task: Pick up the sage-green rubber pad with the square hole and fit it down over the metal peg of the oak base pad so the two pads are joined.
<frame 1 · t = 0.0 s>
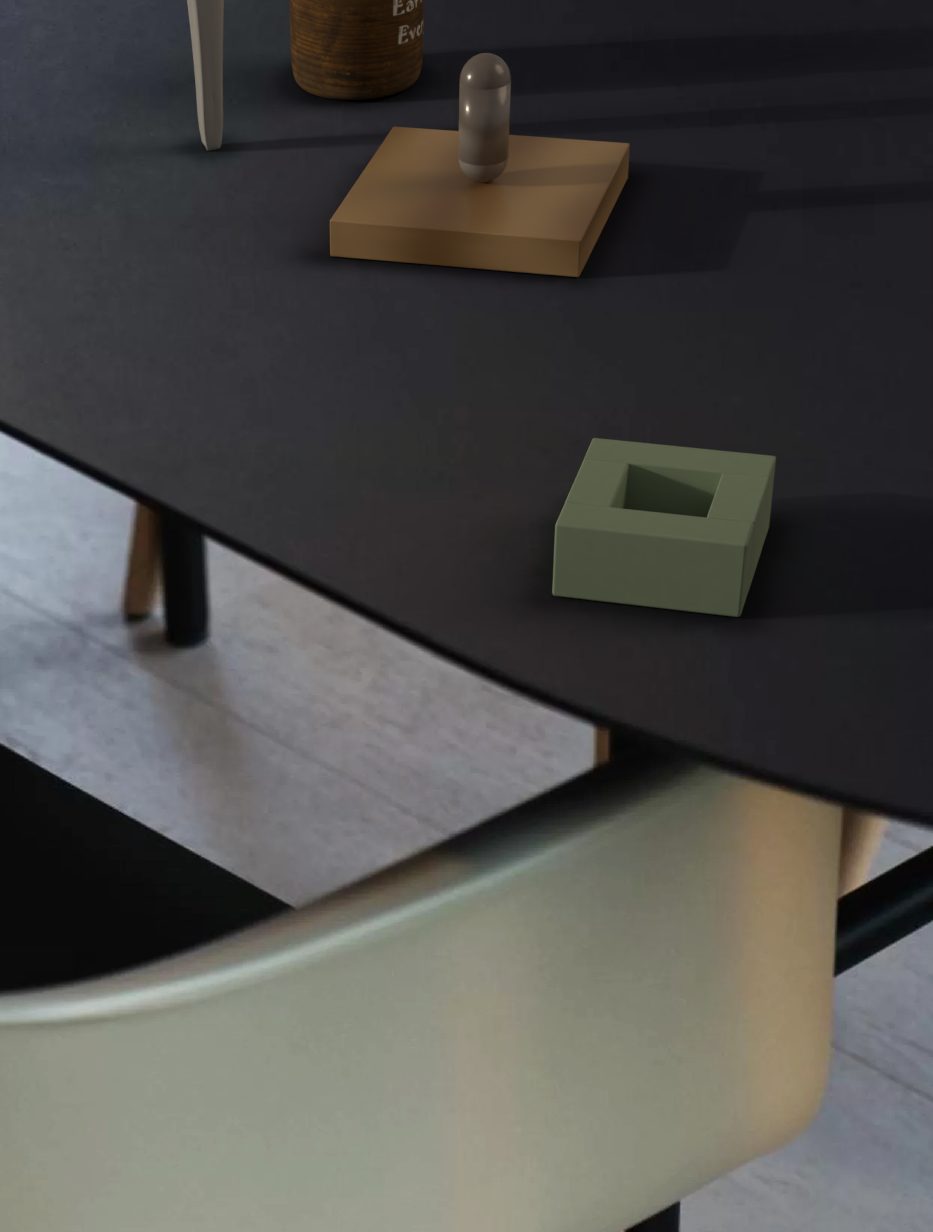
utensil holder: (357, 82, 122), on the table
pen: (213, 151, 116), on the table
rubber pad: (662, 561, 87), on the table
base pad: (482, 216, 109), on the table
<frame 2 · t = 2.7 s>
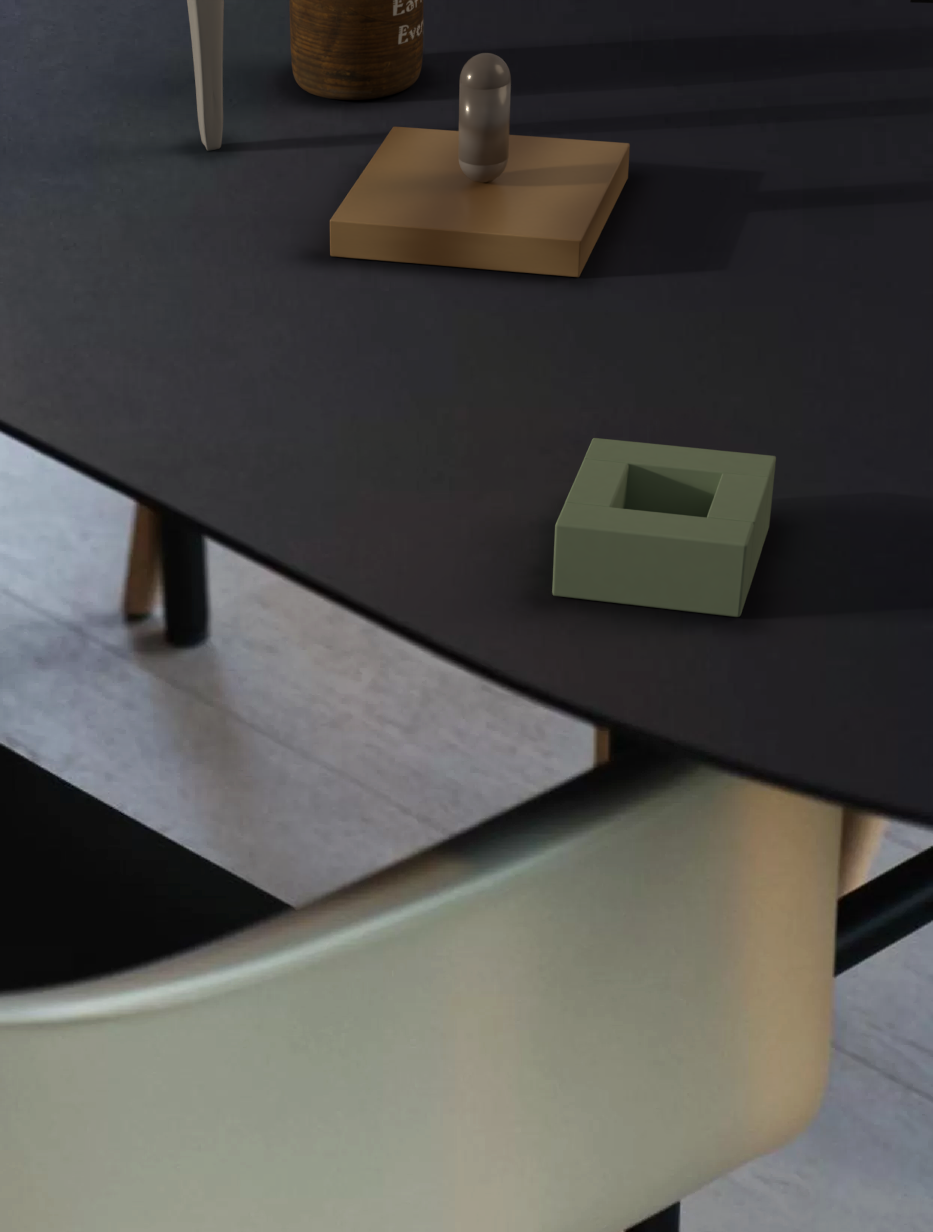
nothing on the table moved.
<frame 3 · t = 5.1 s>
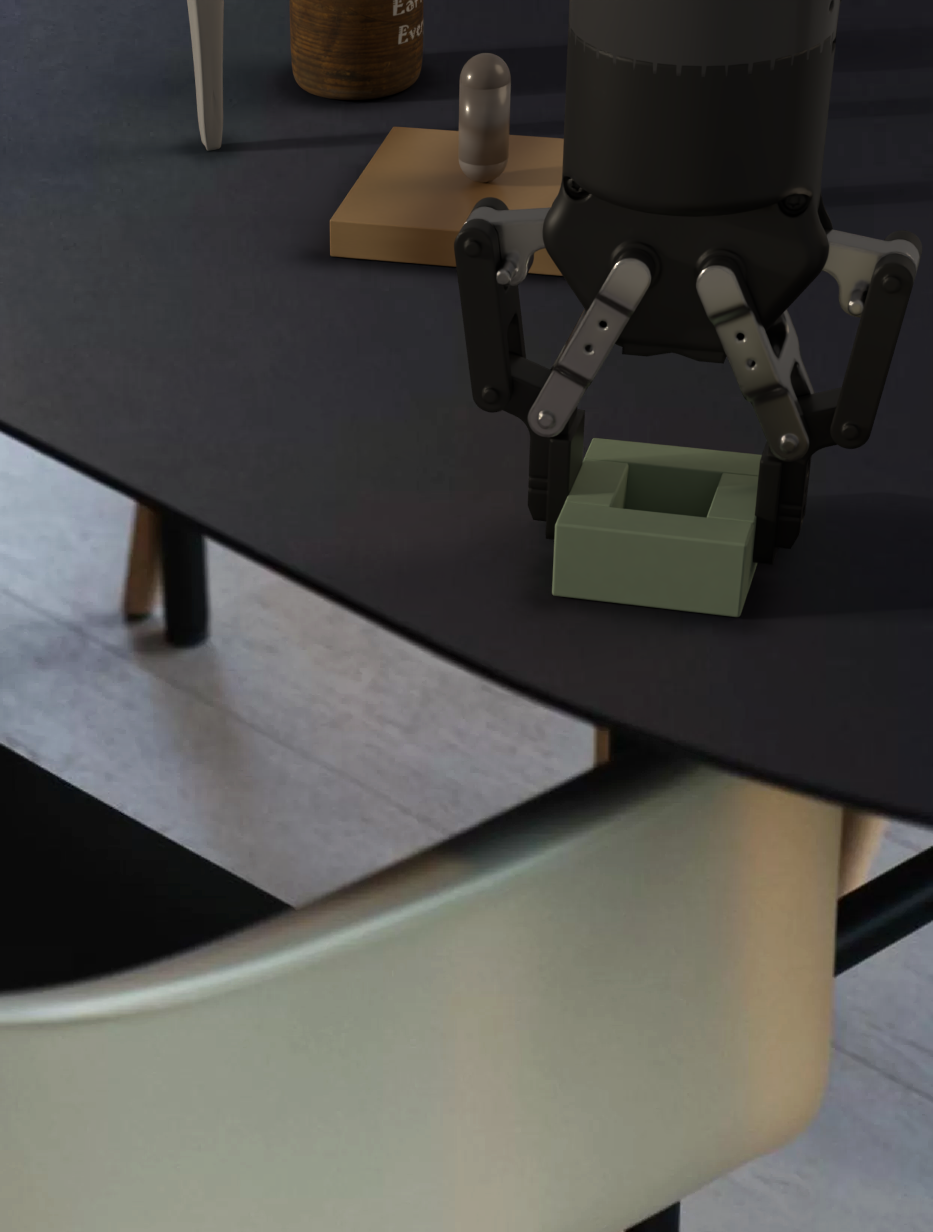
hand: (664, 538, 87), 1 cm above the table, tool pointing down, fingers closed on rubber pad, 6 cm apart
rubber pad: (661, 561, 87), on the table, touching gripper
everything else where it was.
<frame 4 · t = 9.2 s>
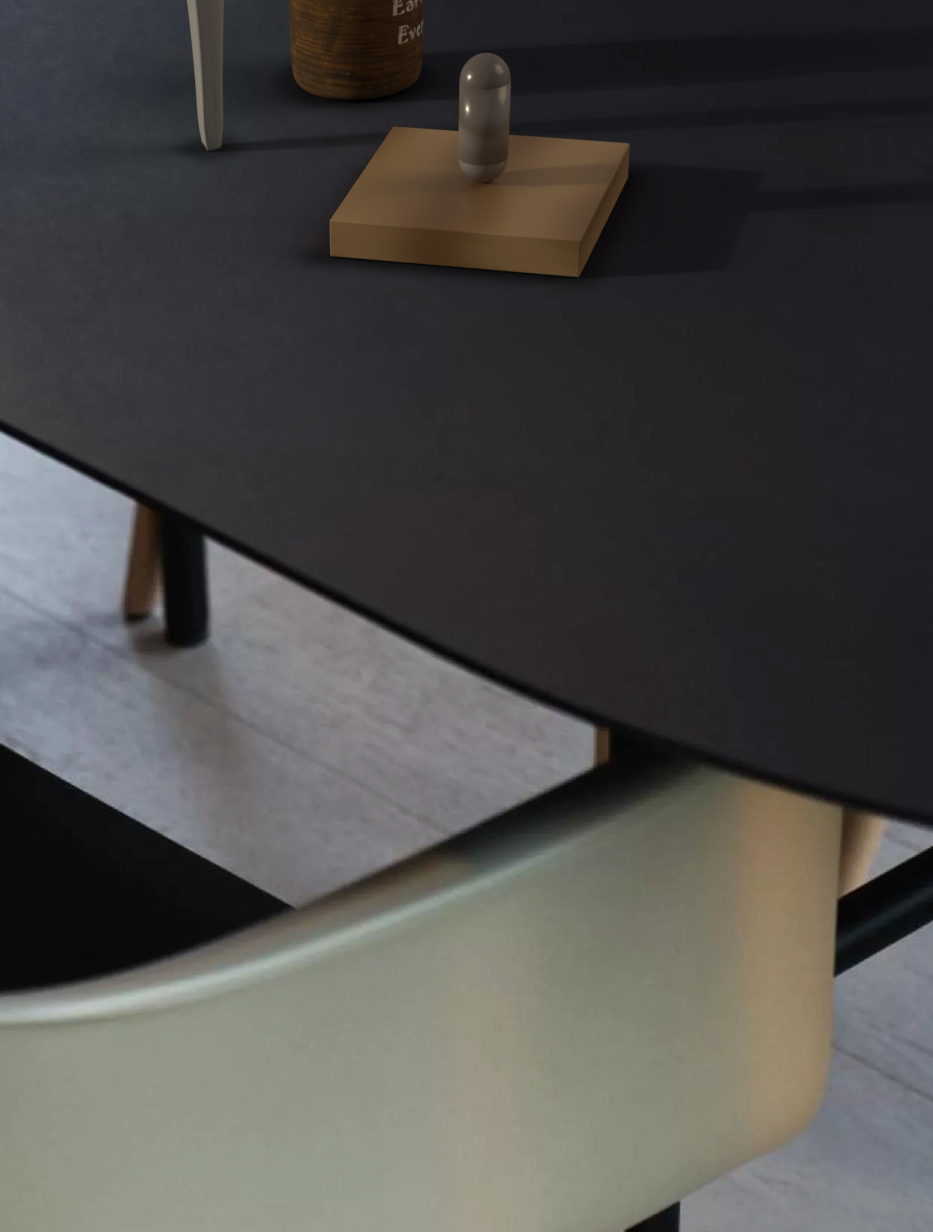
when the fingers open (2 cm above the table, at t = 13.2 s): rubber pad stays where it is, resting on base pad.
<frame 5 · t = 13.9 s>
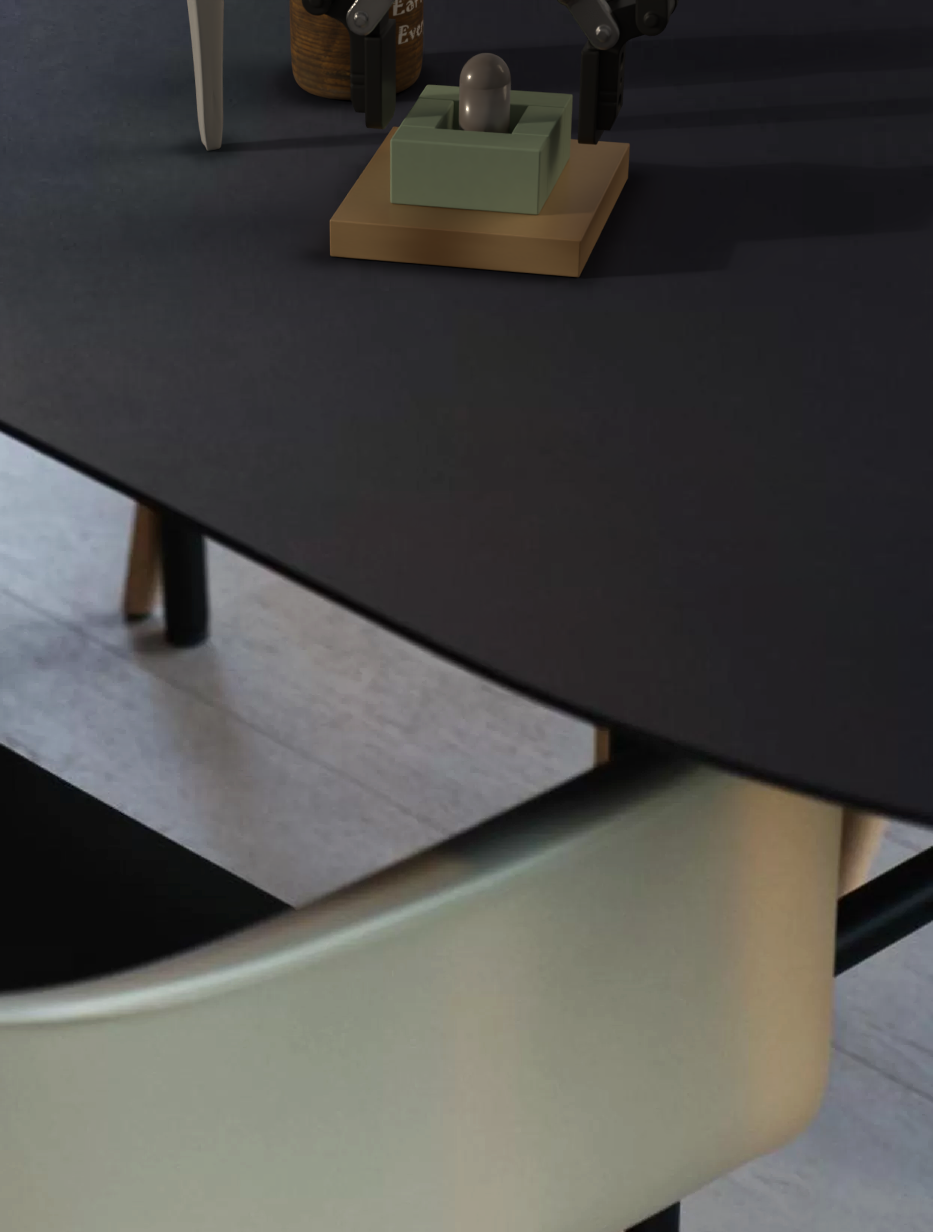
hand: (485, 129, 107), 4 cm above the table, tool pointing down, fingers open, 8 cm apart
rubber pad: (481, 180, 108), point 1 cm above the table, touching base pad
everything else where it was.
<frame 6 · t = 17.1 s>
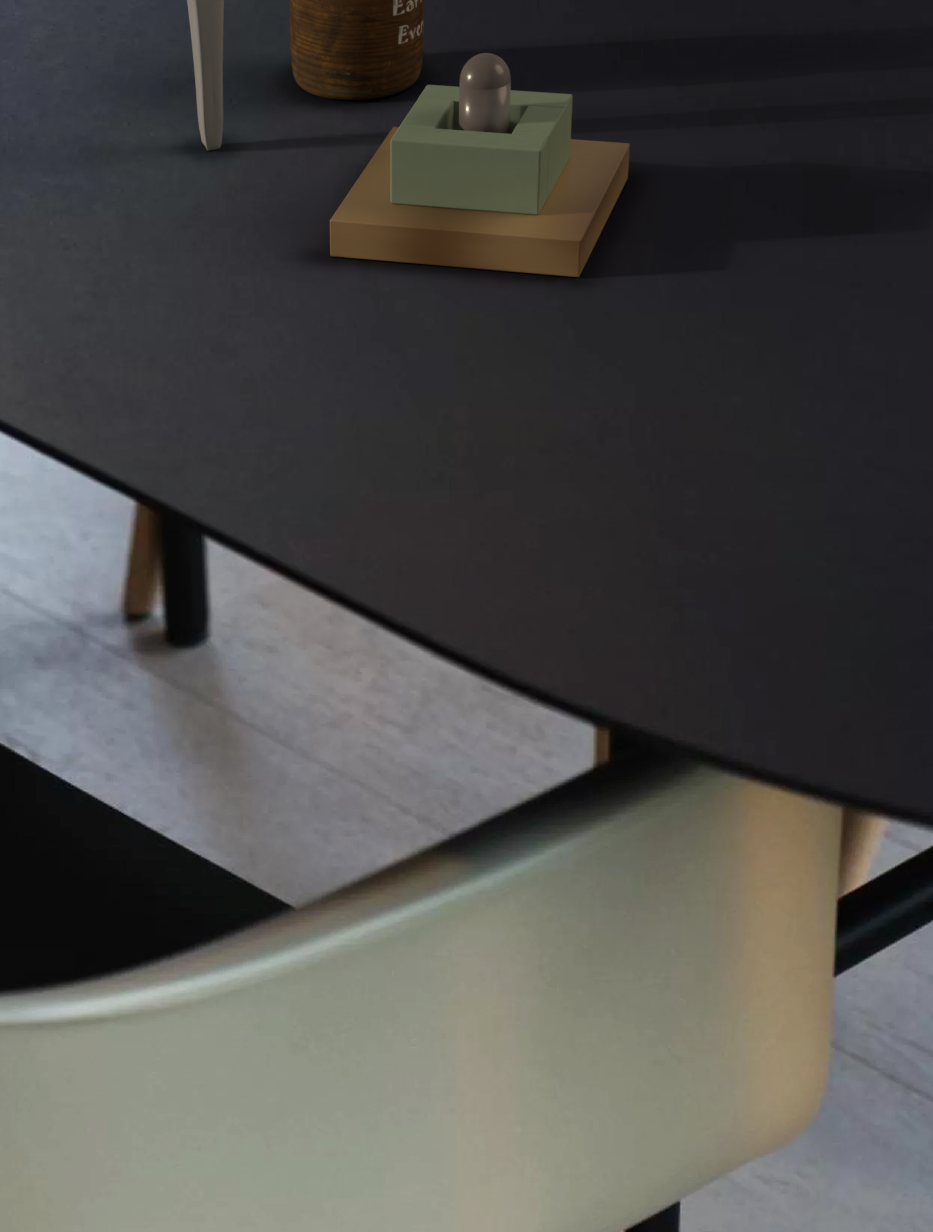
nothing on the table moved.
at the end: rubber pad 0.1 cm off-centre on the base pad, point 1.5 cm above the base pad's base; rubber pad tilted 0°; the gripper is holding nothing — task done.
